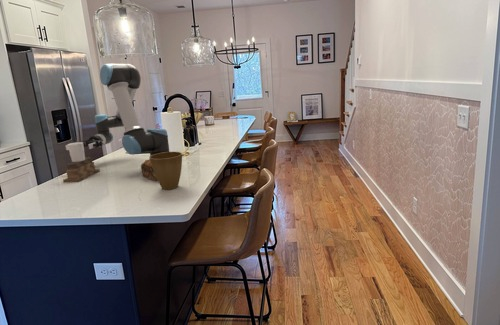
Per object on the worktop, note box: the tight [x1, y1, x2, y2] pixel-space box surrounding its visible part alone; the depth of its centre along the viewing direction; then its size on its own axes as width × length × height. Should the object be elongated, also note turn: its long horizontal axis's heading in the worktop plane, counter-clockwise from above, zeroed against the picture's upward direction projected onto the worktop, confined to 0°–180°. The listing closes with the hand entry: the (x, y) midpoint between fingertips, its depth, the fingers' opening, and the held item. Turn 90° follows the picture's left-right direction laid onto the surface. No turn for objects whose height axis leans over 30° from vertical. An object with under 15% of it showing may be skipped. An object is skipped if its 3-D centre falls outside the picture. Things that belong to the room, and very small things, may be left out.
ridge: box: [62, 156, 100, 183], centre depth 191 cm, size 22×9×10 cm, turn 176°
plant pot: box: [148, 151, 183, 191], centre depth 156 cm, size 15×15×16 cm
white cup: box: [67, 141, 86, 163], centre depth 188 cm, size 8×8×10 cm
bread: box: [140, 158, 158, 182], centre depth 178 cm, size 19×11×10 cm, turn 39°
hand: (77, 147), depth 189 cm, fingers open, 13 cm apart
